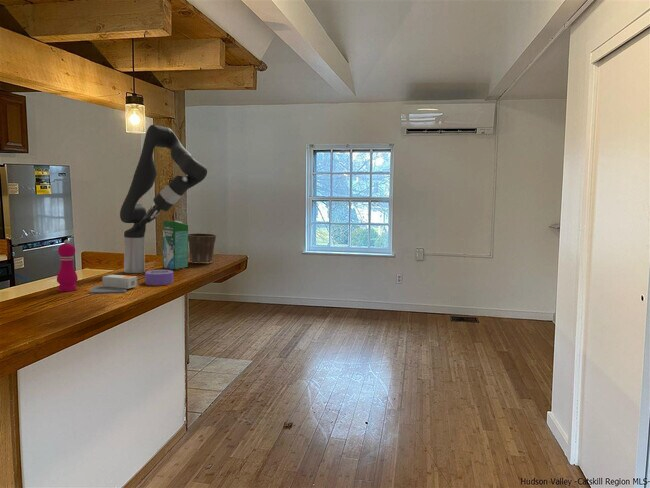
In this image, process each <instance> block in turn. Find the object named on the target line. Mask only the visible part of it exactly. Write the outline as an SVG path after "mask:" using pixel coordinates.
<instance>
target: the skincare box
mask: <svg viewBox="0 0 650 488" xmlns="http://www.w3.org/2000/svg"><path fill="white" fill-rule="evenodd" d="M101 279H102V283H101V284H102V285H101V286H103V287H114V288H127V290H128V289H129V290H130V289H132V288H134V287H137V286H138V276H135V275H124V274H123V275H122V274H109V275H104V276H102V278H101Z"/></svg>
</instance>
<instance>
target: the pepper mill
mask: <svg viewBox="0 0 650 488" xmlns="http://www.w3.org/2000/svg"><path fill="white" fill-rule="evenodd" d="M57 253H58V254H59V255H60V256H59V261H60V268H59V270H58V273H57V275H56V282H57V283H58V284H59V285H58V288H57V290H58V291H59V292H63V291H67V292H74V291H76V290H77V284H76V283H77V282H78V273H77V272H76V270H75V267H74V260H75V256H74V254H75V253H76V247H75V245H73V244H71V243H70V240H68V239H65V240H64V241H63V244H60V245H59V246H58V248H57ZM73 290H74V291H73Z"/></svg>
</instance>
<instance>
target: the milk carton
mask: <svg viewBox="0 0 650 488" xmlns="http://www.w3.org/2000/svg"><path fill="white" fill-rule="evenodd" d="M188 234H189V225H188V224H185V223H183V221H180V220H174V221H172V220H164V219H163V220H162V268H163V267H164V269H168V268H171V269H170V270H173V269H176V270H179V269H178V268H183V267H188V268H189V242H188ZM183 269H184V268H183Z"/></svg>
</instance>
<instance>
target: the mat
mask: <svg viewBox="0 0 650 488" xmlns="http://www.w3.org/2000/svg"><path fill="white" fill-rule="evenodd" d="M127 291H128V289H127V288H114V287H103V286H102V285H94V286H92V287H91V289H90V290H89V291H88V294H121V293H122V294H125V293H127Z"/></svg>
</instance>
